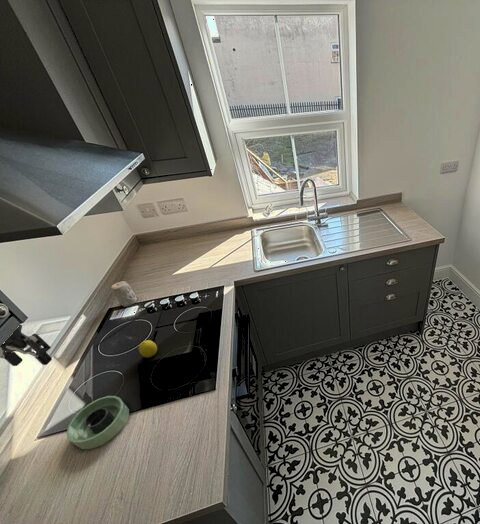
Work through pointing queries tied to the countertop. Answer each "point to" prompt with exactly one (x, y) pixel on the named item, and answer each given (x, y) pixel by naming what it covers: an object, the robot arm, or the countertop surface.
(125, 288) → the carving
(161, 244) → the countertop surface
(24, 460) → the countertop surface
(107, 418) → the small bowl
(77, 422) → the big bowl
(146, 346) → the lemon
